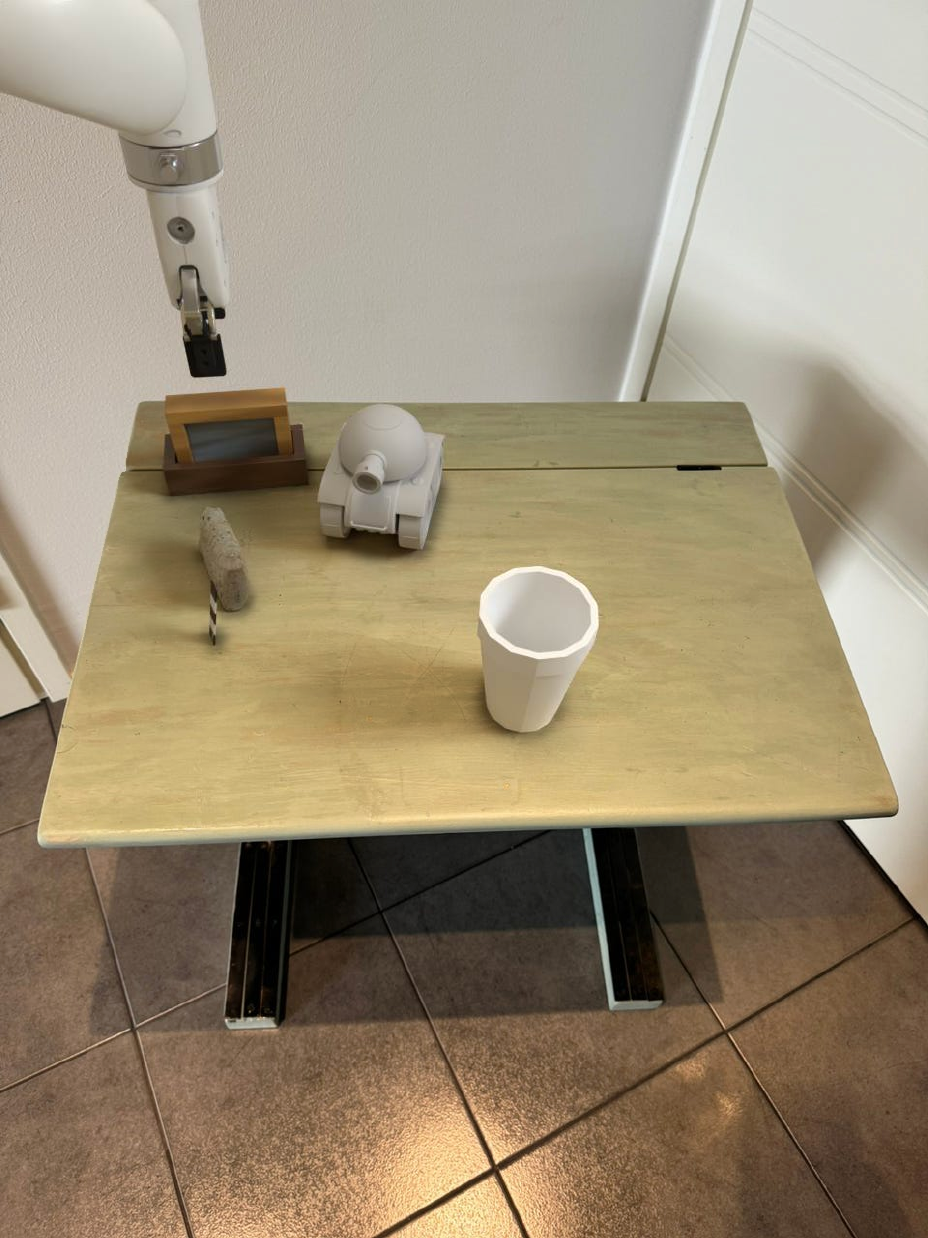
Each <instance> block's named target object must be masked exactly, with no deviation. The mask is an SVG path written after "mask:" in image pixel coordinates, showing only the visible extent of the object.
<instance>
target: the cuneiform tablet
mask: <svg viewBox="0 0 928 1238" xmlns="http://www.w3.org/2000/svg"><path fill="white" fill-rule="evenodd" d="M199 531H200V532H199V540H198V547H199V550H200V551H199V552H200V553H201V555H202V557H203V562H204V566H205V568H206V571H207V574H208V576H209V578H210V587H209V589H210V590H209V591H210V592H209V596H210V597H209V622H208V623H209V624H208V625H209V628H208V629H209V630H208V635H209V637H210V640H211V642H212V645H213V646H216V636H217V635H216V634H217V609H218V607H217V606H218V605H217V604H218V598H219V600H220V603H221V605H222V606H223V607H224V609H225V610H226V611H228V612H235V611H240V610H242V609H243V608H244V606H245V605H246V603H247V601H248V598H249V596H250V589H251V587H250V581H251V580H250V578H249V571H248V568H247V565H246V561H245V558H244V555H243V552H242V548H241V546H240V543H239V541H238V538H237V537H236V535H235V532H234V530H233V529H232V527H231V524H230V523H229V521H228V520H227V518H226V514H225V513H224V512H223V510H222V509H221V508H220V507H218V506H214V507H211V506H205V507H203V509H202V511H201V514H200V529H199Z"/></svg>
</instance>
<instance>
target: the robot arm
mask: <svg viewBox="0 0 928 1238" xmlns="http://www.w3.org/2000/svg"><path fill="white" fill-rule="evenodd" d="M208 64H209V63H208V58H207V52H206V44H205V37H204V30H203V23H202V17H201V11H200V4H199V0H0V93H1V94H6V95H9V96H12V97H15V98H18V99H20V100H25V101H27V102H29V103H33V104H35V105H39V106H42V107H45V108H48V109H51V110H54V111H57V112H59V113H62V114H66V115H70V116H73V117H77V118H79V119H82V120H84V121H88V122H90V123H94V124H97V125H101V126H103V127H106V128H108V129H111V130H114V131H116V132H117V136H118V141H119V145H120V149H121V153H122V157H123V163H124V166H125V170H126V174H127V178H128V180H129V181H130V182H131V183H132V184H133V185H135V186H136V187H138V188H141V189H143V190H145V196H146V200H147V205H148V209H149V214H150V219H151V225H152V229H153V233H154V238H155V243H156V247H157V251H158V256H159V261H160V266H161V270H162V274H163V278H164V283H165V286H166V290H167V293H168V297H169V301H170V304H171V306H172V307H173V308H174V309H176V310H177V311H179V313H180V320H181V327H182V328H181V329H182V343H183V346H184V352H185V356H186V361H187V366H188V370H189V375H190V377H191V378H194V379H199V378H201V379H202V378H217V377H219V378H220V377H225V376H227V374H228V372H227V364H226V360H225V353H224V348H223V343H222V342H223V341H222V336H221V333H218V332H217V324H216V323H217V322H216V320H224V319H226V309H227V308H228V306H229V304H230V302H231V282H230V281H231V280H230V262H229V256H228V249H227V245H226V241H225V235H224V228H223V223H222V217H221V211H220V205H219V200H218V195H217V191H216V185H215V184H216V183H218V182H219V181H221V179H222V178H223V177H224V174H225V169H224V163H223V156H222V151H221V145H220V137H219V130H218V125H217V117H216V110H215V104H214V97H213V91H212V85H211V78H210V72H209V71H210V70H209V65H208Z"/></svg>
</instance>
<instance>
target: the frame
mask: <svg viewBox="0 0 928 1238" xmlns="http://www.w3.org/2000/svg"><path fill="white" fill-rule="evenodd" d="M164 398H165V400H164V416H165V420H166V423H167V427H168V431H169V434H170V435H171V438H172V442H173V446H174V449H175V453H176V457H177V460H178V463H188V462H201V461H213V460H226V459H238V458H251V457H263V456H276V455H288V454H294V451H293V443H292V436H291V429H290V425H291V421H290V414H289V407H288V400H287V393H286V387H271V388H270V387H269V388H255V389H254V388H253V389H239V390H227V391H212V392H211V391H210V392H195V393H182V394H180V393H179V394H167V395H165V397H164Z"/></svg>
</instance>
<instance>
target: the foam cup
mask: <svg viewBox="0 0 928 1238" xmlns="http://www.w3.org/2000/svg"><path fill="white" fill-rule="evenodd" d="M477 618H478V619H477V631H476V632H477V634H476V635H477V637H478V639H479V642H480V652H481V662H482V663H481V664H482V672H483V673H482V674H483V681H484V682H483V683H484V691H485V692H484V694H485V703H486V708H487V710H488V712H489V714H490V716H491V718H492V720H493V721H495V722H496V723H498V724H499V725H500V726H501V727H503V728H504V729H506V730H509V731H512V732H516V733H520V734H522V733H532V732H537V731H539V730H541V729H542V728H544V727H546V726H548V725H549V724H550V722H551V721H552V719H553V717H554V716H555V714H556V713H557V710H558V709H559V707H560V705H561V703H562V701H563V699H564V697H565V695H566V693H567V691H568V689H569V688H570V686H571V684H572V682H573V679H574V677H575V676H576V674H577V672H578V670H579V668H580V666H581V664H583V663H584V661H585V659H586V658H587V656H588V655H589V652H590V651H591V650H592V648H593V646H594V645H595V641H596V637H597V633H598V631H599V626H600V625H599V623H600V622H599V605H598V603H597V601H596V600H595V598H594V597H593V595H592V594H591V592H590V591H589V589H588V588H587V586H586V585H585V584H583V583H581V581H579V580H577V579H575V578H574V577H572V575H570V574H568V573H566V572H565V571H561V570H558V569H554V568H549V567H546V566H542V565H534V566H523V567H522V566H521V567H513V568H512V569H509V570H507V571H505V572H503V573H501V574H500V575H497V576H494V577H493V578H492V579H491V580H490V582H489V583H488V584H487V586H486V587H485V589H484V590H483V592H482V593H481V594H480V597H479V607H478V617H477Z"/></svg>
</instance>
